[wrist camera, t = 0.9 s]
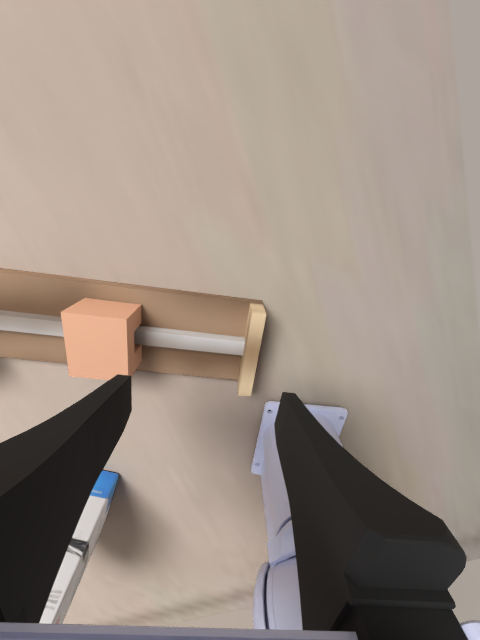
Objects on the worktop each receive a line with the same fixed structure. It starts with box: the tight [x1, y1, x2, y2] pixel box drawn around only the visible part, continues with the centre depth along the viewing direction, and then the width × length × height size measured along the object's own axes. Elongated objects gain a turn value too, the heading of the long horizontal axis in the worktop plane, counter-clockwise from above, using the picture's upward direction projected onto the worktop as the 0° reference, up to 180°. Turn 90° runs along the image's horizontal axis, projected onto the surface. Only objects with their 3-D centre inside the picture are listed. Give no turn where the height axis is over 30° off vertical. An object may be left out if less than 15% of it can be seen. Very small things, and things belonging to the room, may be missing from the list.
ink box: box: [39, 470, 119, 624], centre depth 23 cm, size 8×5×12 cm, turn 159°
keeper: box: [61, 298, 142, 380], centre depth 18 cm, size 5×4×3 cm
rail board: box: [0, 268, 266, 396], centre depth 18 cm, size 7×24×4 cm, turn 82°
